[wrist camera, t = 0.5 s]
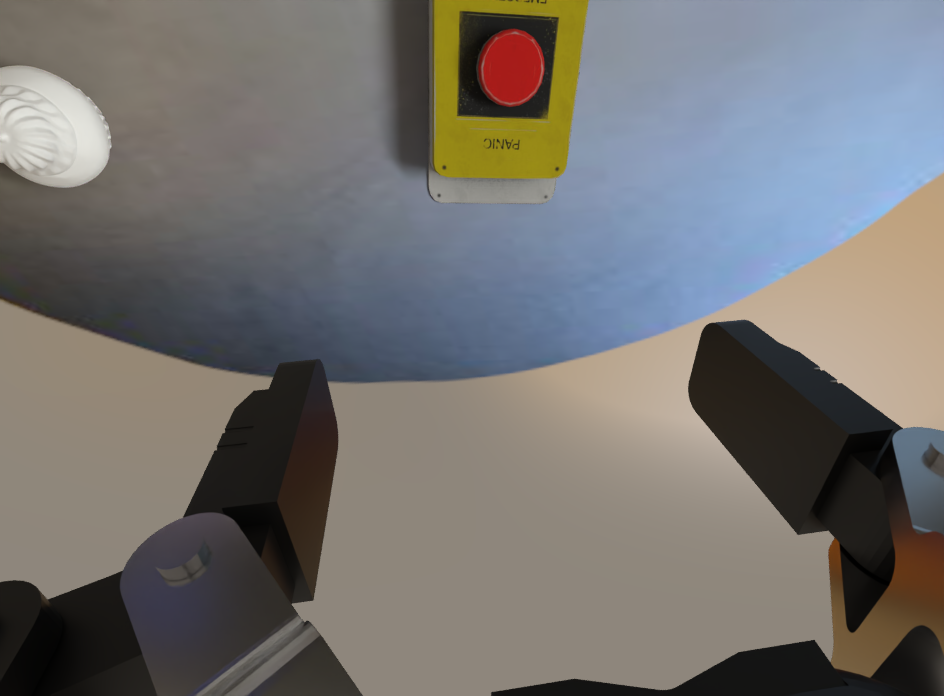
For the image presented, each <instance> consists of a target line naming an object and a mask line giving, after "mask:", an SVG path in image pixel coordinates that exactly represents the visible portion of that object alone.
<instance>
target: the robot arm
mask: <svg viewBox="0 0 944 696" xmlns="http://www.w3.org/2000/svg"><path fill="white" fill-rule="evenodd" d="M688 392H689V398H690V402H691V404H692V407H693V408H694V410H695V412H696V413H697V414H698V415H699V416H700V418H701V419H702V420H703V421H704V422H705V423H706V425H707V426H708V427H709V428H710V430H711V431H712V432H713V433H714V434H715V436H716V437H717V438H718V439H719V440H720V442H721V443H722V444H723V445H724V446H725V448H726V449H727V450H728V451H729V452H730V454H731V455H732V456H733V457H734V458H735V460H736V461H737V462H738V463H739V464H740V465H741V467H742V468H743V469H744V470H745V471H746V473H747V474H748V475H749V476H750V478H751V479H752V480H753V481H754V482H755V484H756V485H757V486H758V487H759V488H760V490H761V491H762V492H763V493H764V494H765V496H766V497H767V498H768V499H769V500H770V502H771V503H772V504H773V505H774V507H775V508H776V509H777V510H778V511H779V512H780V514H781V515H782V516H783V517H784V519H785V520H786V521H787V522H788V523H789V525H790V526H791V527H792V528H793V529H794V531H795V532H796V533H797V534H798V535H800V534H807V533H814V532H822V531H829V532H830V533H831V534H832V535H833V536H834V537H835V538H834V540H833V541H832V543H831V545H830V547H829V552H828V558H829V573H830V590H831V606H832V623H833V639H834V644H833V645H834V646H833V654H832V659H831V662H830V661H829V660H828V659H827V657H826V656H825V654H824V653H823V652H822V650H821V649H820V647H819V646H818V644H817V643H816V642H815V640H811V641H805V642H799V643H792V644H786V645H780V646H774V647H768V648H762V649H755V650H750V651H743V652H738V653H737V654H735V655H733V656H731V657H729V658H728V659H726V660H724V661H722V662H720V663H719V664H717V665H715V666H713V667H711V668H710V669H708V670H706V671H704V672H703V673H701V674H699V675H697V676H695V677H694V678H692V679H690V680H688V681H687V682H685V683H683V684H682V685H679V686H678V687H676V688H673V689H670V690H655V689H648V688H640V687H632V686H625V685H617V684H610V683H602V682H595V681H587V680H579V679H571V680H564V681H558V682H552V683H546V684H540V685H534V686H527V687H521V688H515V689H509V690H503V691H497V692H492V693H491V696H944V431H941V430H936V429H931V428H923V427H911V428H905V429H903V428H902V427H900V426H899V425H898V424H896V423H895V422H893V421H892V420H891V419H889V418H888V417H887V416H885V415H884V414H883V413H881V412H880V411H879V410H877V409H876V408H874V407H873V406H872V405H870V404H869V403H868V402H866V401H865V400H864V399H862V398H861V397H860V396H858V395H857V394H855V393H854V392H853V391H852V390H850V389H849V388H847V387H846V386H845V385H843V384H842V383H839V384H838V383H837V379H835V378H834V377H832V376H831V375H830V374H828V373H827V372H826V371H824V370H822V371H821V370H820V367H819V366H818V365H816V364H815V363H814V362H812V361H811V360H809V359H808V358H807V357H805V356H804V355H803V354H801V353H800V352H798V351H795V350H793V349H791V348H789V347H787V346H785V345H783V344H780V343H778V342H777V341H776V340H774V339H773V338H772V337H770V336H769V335H768V334H766V333H765V332H764V331H762V330H761V329H760V328H758V327H757V326H756V325H754V324H753V323H752V322H750V321H747V320H737V321H727V322H716V323H709V324H708V325H706V326H705V328H704V329H703V331H702V333H701V337H700V341H699V345H698V349H697V352H696V356H695V360H694V364H693V368H692V372H691V376H690V380H689V386H688ZM337 451H338V428H337V421H336V416H335V412H334V408H333V404H332V399H331V395H330V391H329V387H328V383H327V378H326V374H325V370H324V367H323V364H322V362H321V360H320V359H316V360H305V361H295V362H284V363H280V364H279V365H278V367H277V370H276V372H275V375H274V377H273V380H272V382H271V385H270V387H269V389H267V390H257V391H253V392H252V393H251V394H250V395H249V396H248V397H247V398H246V399H245V400H244V401H243V402H242V403H240V404H239V405H238V406H237V407H236V408H235V409H234V411H233V413H232V415H231V418H230V420H229V422H228V424H227V426H226V428H225V433H223V434H222V436H221V439H220V441H219V443H218V445H217V450H216V451H214V454H213V455H212V458H211V460H210V462H209V464H208V466H207V468H206V470H205V472H204V474H203V477H202V479H201V481H200V483H199V485H198V487H197V489H196V491H195V493H194V496H193V497H192V500H191V502H190V504H189V506H188V508H187V510H186V512H185V514H184V516H183V518H182V519H179V520H177V521H174V522H172V523H170V524H169V525H166V526H165V527H163V528H162V529H160V530H158V531H157V532H156V533H155V534H153V535H152V536H150V537H149V538H148V539H147V540H146V541H145V542H144V543H142V544H141V545H140V546H139V547H138V549H137V550H136V551H135V552H134V553H133V554H132V556H131V557H130V559H129V560H128V562H127V564H126V566H125V568H124V570H123V571H121V572H118V573H116V574H114V575H111V576H109V577H106V578H104V579H101V580H98V581H96V582H93V583H91V584H88V585H85V586H83V587H80V588H77V589H75V590H72V591H70V592H67V593H64V594H62V595H59V596H56V597H54V598H51V599H48V600H47V599H46V597H45V596H44V595H43V594H42V593H41V592H40V591H39V590H38V588H37V587H36V586H34V585H33V584H31V583H29V582H25V581H15V580H13V581H4V582H0V696H363V695H362V694H361V693H360V691H359V690H358V688H357V687H356V685H355V684H354V682H353V681H352V679H351V678H350V677H349V675H348V674H347V672H346V671H345V669H344V668H343V666H342V665H341V663H340V662H339V661H338V659H337V658H336V656H335V655H334V653H333V652H332V650H331V649H330V647H329V646H328V645H327V643H326V642H325V640H324V639H323V637H322V636H321V635H320V633H319V632H318V631H317V629H316V628H315V627H314V626H313V625H312V624H311V623H310V622H309V621H306V622H304V621H303V620H302V619H301V617H300V616H299V615H298V613H297V612H296V610H295V609H294V607H293V606H292V603H298V602H305V601H313V599H314V593H315V587H316V581H317V574H318V569H319V562H320V556H321V550H322V543H323V538H324V532H325V525H326V519H327V512H328V507H329V501H330V495H331V488H332V482H333V476H334V470H335V464H336V458H337Z"/></svg>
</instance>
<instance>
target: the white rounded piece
mask: <svg viewBox="0 0 944 696" xmlns="http://www.w3.org/2000/svg"><path fill="white" fill-rule="evenodd" d="M110 138H111V135H110V130H109V127H108V123H107V122H106V121H105V117H104V116H102V112H101V111H100V109H99V108H98V107H97V106H96V105H95V104H94V103H93V101H92V100H91V99H90V98H89V97H87V96H86V95H85V94H84V93H83V92H82V91H81V90H80V89H79V88H75V87H74V86H73V85H72V84H70V83H69V82H68V81H65V80H64V79H62V78H60V77H58V76H56V75H54V74H52V73H50V72H47V71H45V70H42V69H39V68H35V67H30V66H20V65H14V66H6V67H2V68H0V163H4V164H5V165H7V166H8V167H9V168H10V169H12V170H13V171H14V172H16V173H17V174H19V175H21V176H22V177H24V178H26V179H28V180H31V181H33V182H36V183H39V184H42V185H46V186H51V187H60V188H68V187H76V186H80V185H83V184H85V183H87V182H89V181H91V180H92V179H94V178H95V177H96V176H98V175H99V174H100V173H101V171H102V170H103V169H104V168H105V166H106V164H107V162H108V159H109V151H110V148H111V140H110Z"/></svg>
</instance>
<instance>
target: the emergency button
mask: <svg viewBox="0 0 944 696" xmlns="http://www.w3.org/2000/svg"><path fill="white" fill-rule="evenodd" d="M588 2H589V0H428V144H429V190H430V195H431V196H432V197H433V198H434V200H435V201H438V202H441V203H497V204H542V203H546V202H548V201H549V200H550V199H551V198H552V197H553V194H554V191H555V186H556V178H559V177H560V176H561V175H562V174H563V173H564V171H565V169H566V165H567V158H568V150H569V143H570V136H571V128H572V121H573V113H574V106H575V98H576V91H577V84H578V76H579V69H580V61H581V54H582V46H583V39H584V32H585V24H586V17H587V9H588Z"/></svg>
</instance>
